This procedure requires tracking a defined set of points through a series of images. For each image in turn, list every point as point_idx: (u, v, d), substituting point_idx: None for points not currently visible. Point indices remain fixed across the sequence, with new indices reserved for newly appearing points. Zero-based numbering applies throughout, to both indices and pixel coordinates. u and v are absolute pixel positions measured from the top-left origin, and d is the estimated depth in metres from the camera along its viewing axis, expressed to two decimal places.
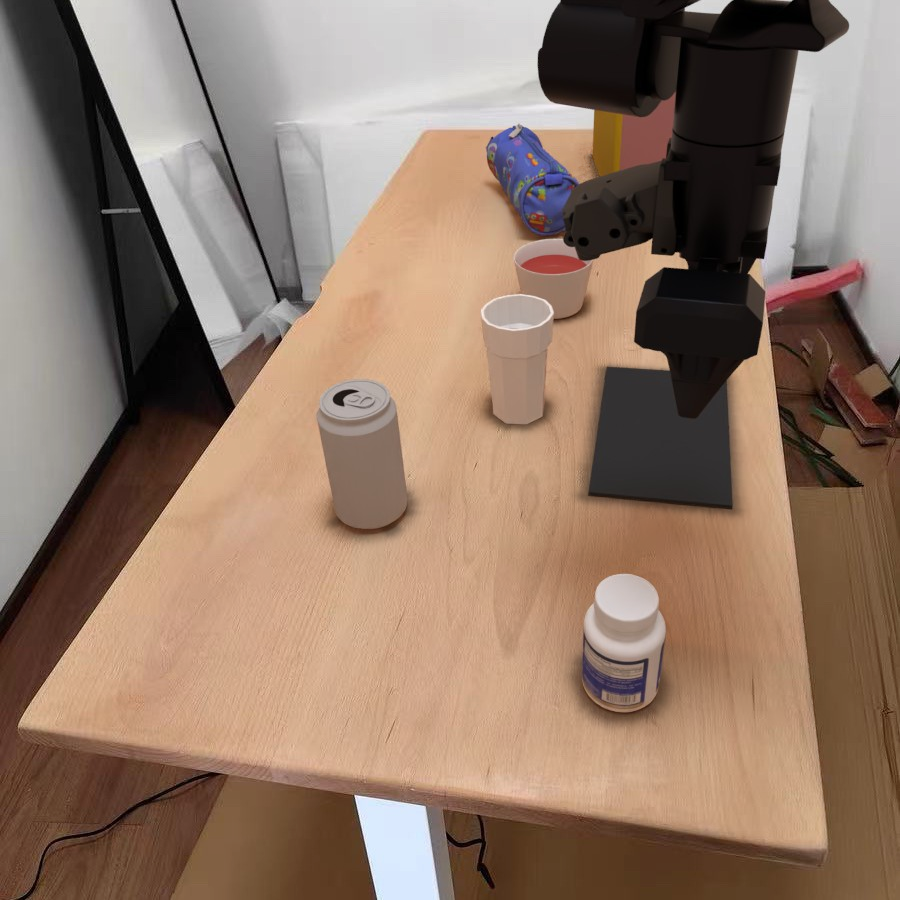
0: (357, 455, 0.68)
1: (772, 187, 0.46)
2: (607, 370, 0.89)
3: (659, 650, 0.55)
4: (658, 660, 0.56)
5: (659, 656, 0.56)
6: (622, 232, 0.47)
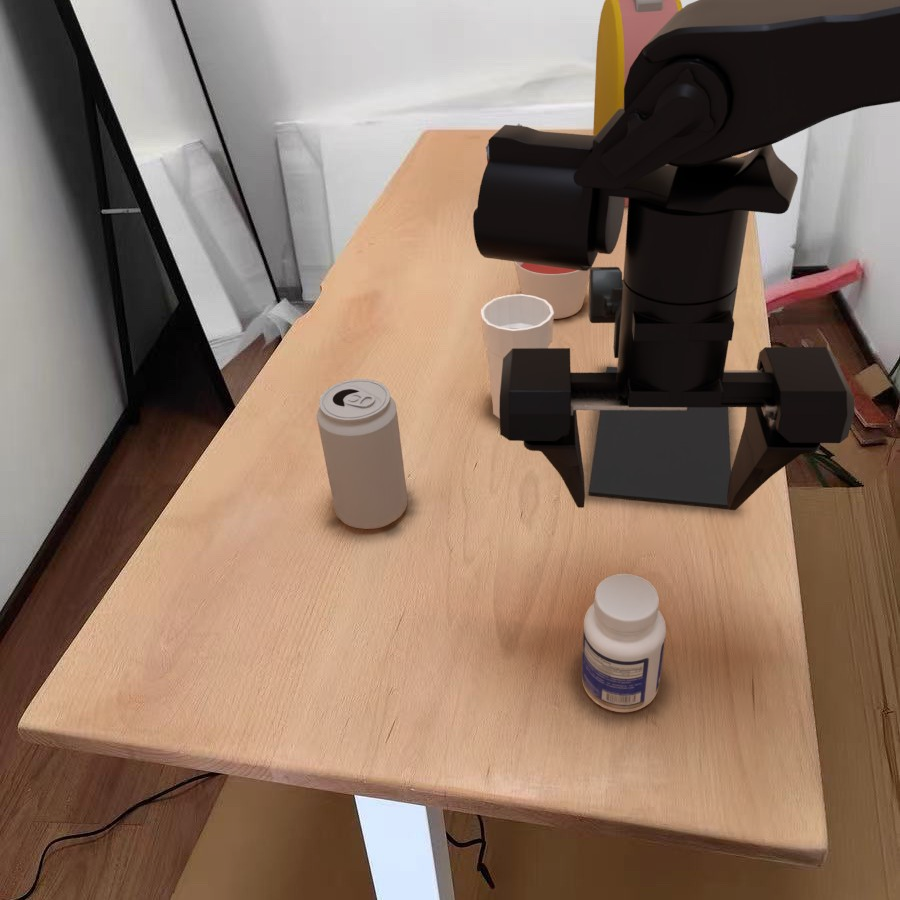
0: (357, 455, 0.68)
1: (662, 351, 0.44)
2: (607, 370, 0.89)
3: (659, 650, 0.55)
4: (658, 660, 0.56)
5: (659, 656, 0.56)
6: (590, 308, 0.51)
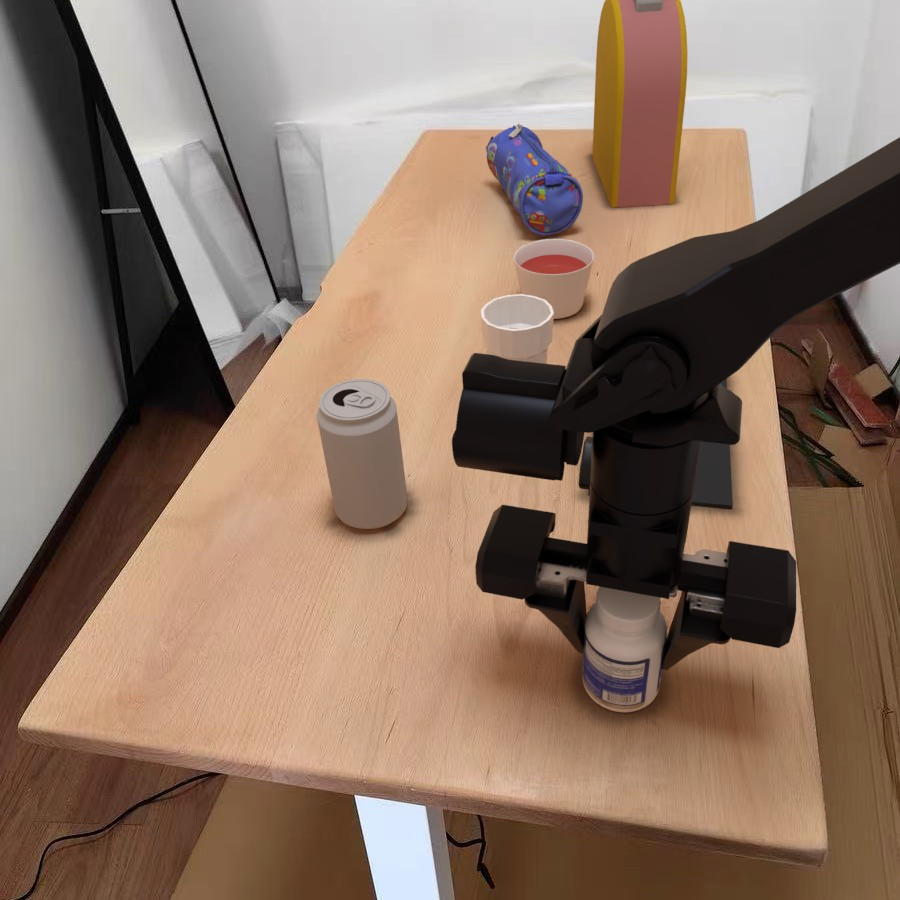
0: (357, 455, 0.68)
1: (615, 545, 0.49)
2: None
3: (660, 650, 0.55)
4: (659, 660, 0.56)
5: (660, 656, 0.56)
6: (579, 476, 0.56)
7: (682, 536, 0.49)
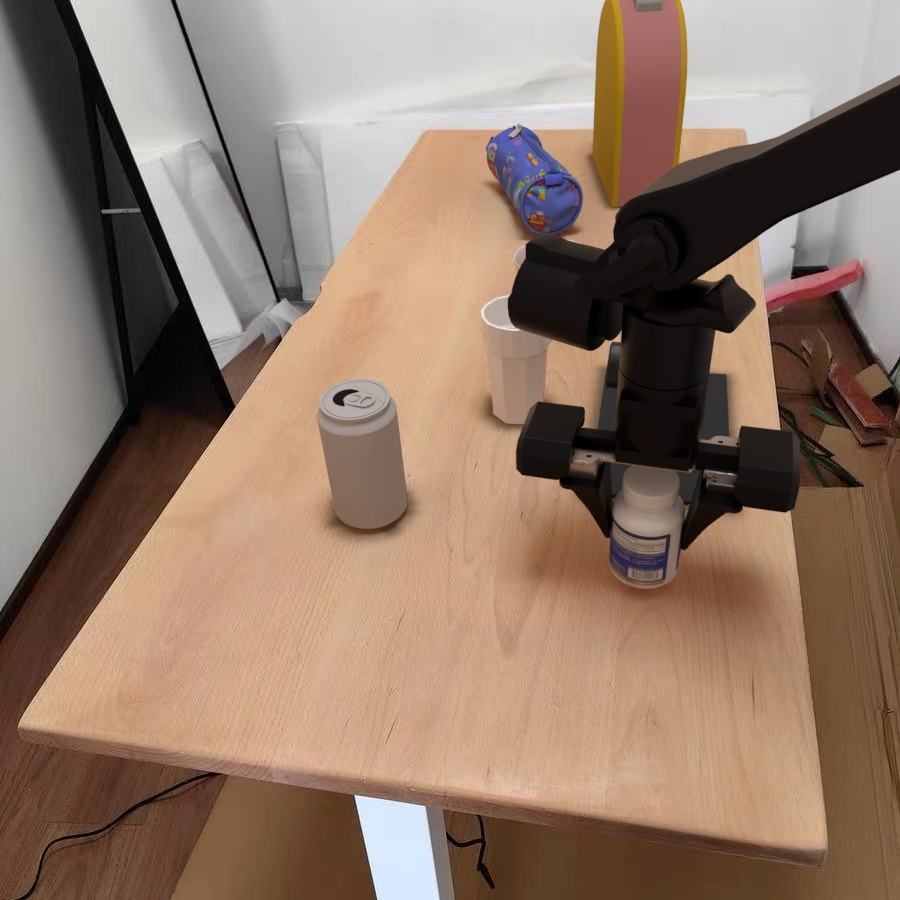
0: (357, 455, 0.68)
1: (641, 422, 0.56)
2: None
3: (680, 528, 0.62)
4: (678, 538, 0.63)
5: (679, 534, 0.62)
6: (606, 375, 0.63)
7: (700, 414, 0.56)
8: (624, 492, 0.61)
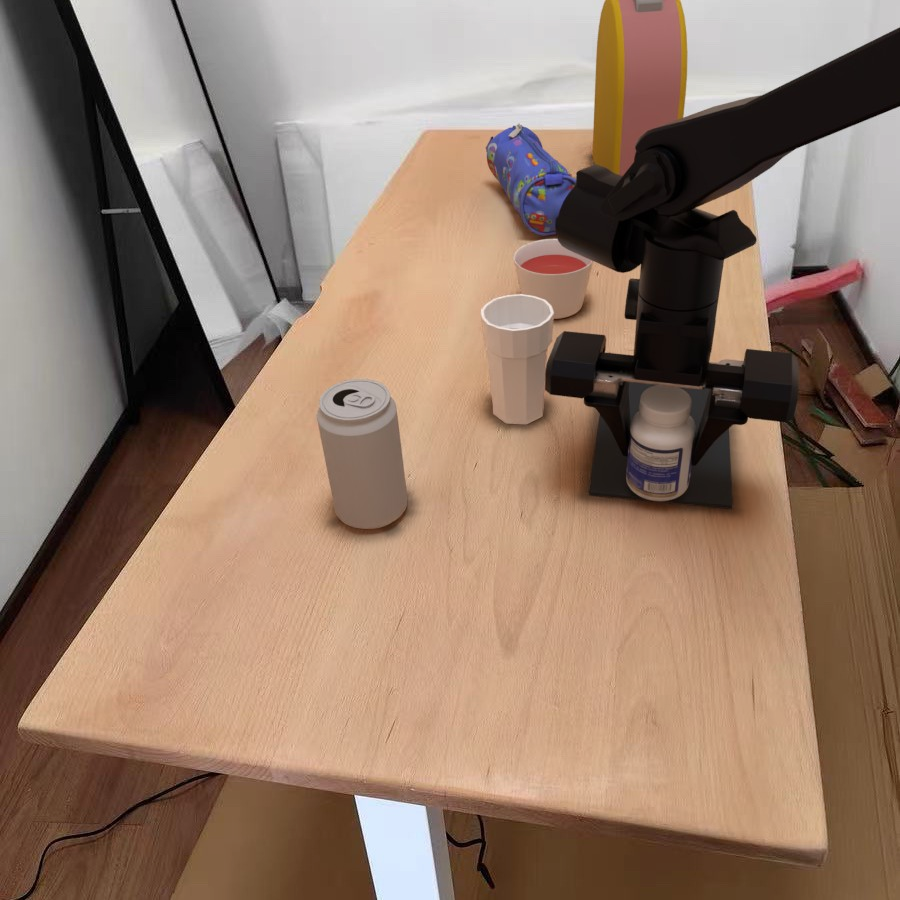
0: (357, 455, 0.68)
1: (658, 341, 0.63)
2: None
3: (691, 443, 0.69)
4: (690, 453, 0.70)
5: (691, 449, 0.70)
6: (625, 308, 0.70)
7: (710, 335, 0.63)
8: (641, 410, 0.69)
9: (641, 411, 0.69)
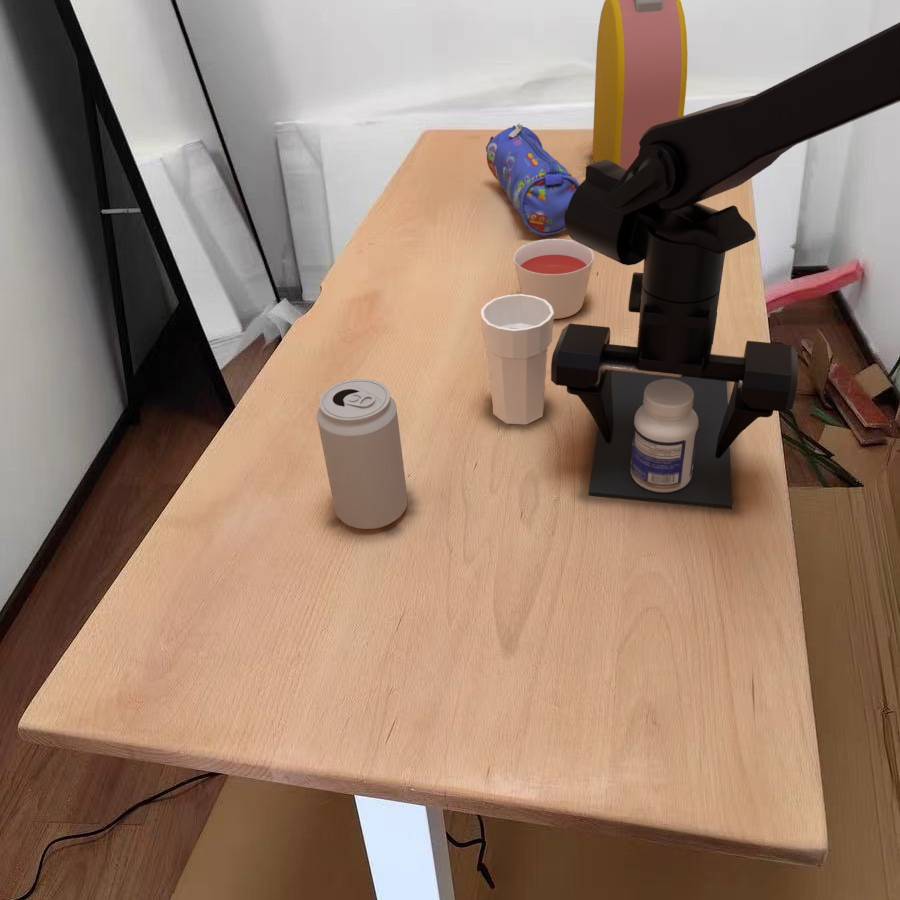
0: (357, 455, 0.68)
1: (661, 333, 0.65)
2: None
3: (693, 436, 0.71)
4: (692, 445, 0.72)
5: (693, 442, 0.72)
6: (629, 301, 0.72)
7: (711, 326, 0.65)
8: (645, 404, 0.71)
9: (645, 404, 0.71)
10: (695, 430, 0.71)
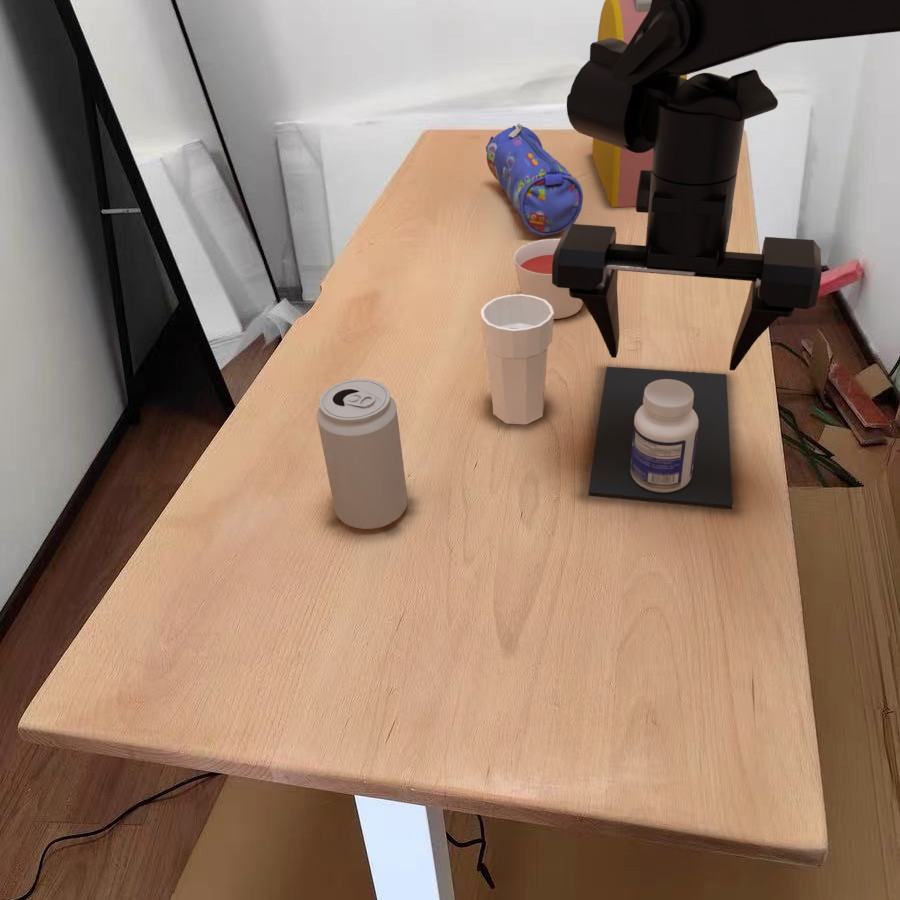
0: (357, 455, 0.68)
1: (672, 222, 0.59)
2: (607, 370, 0.89)
3: (693, 436, 0.71)
4: (692, 445, 0.72)
5: (693, 442, 0.72)
6: (636, 199, 0.67)
7: (727, 215, 0.60)
8: (645, 404, 0.71)
9: (645, 404, 0.71)
10: (695, 430, 0.71)
